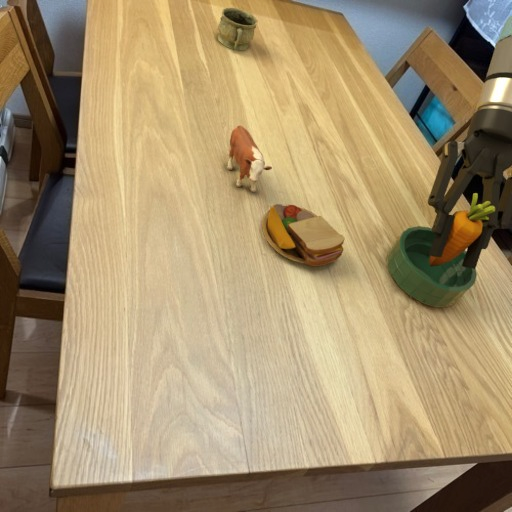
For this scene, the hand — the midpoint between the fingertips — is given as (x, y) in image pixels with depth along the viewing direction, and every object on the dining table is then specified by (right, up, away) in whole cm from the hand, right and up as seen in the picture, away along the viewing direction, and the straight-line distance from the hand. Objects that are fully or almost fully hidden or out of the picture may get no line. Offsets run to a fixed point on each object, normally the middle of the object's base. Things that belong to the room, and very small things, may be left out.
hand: (451, 261), depth 75 cm
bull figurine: (-33, +14, +11) cm, 37 cm away
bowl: (-2, -3, +8) cm, 9 cm away
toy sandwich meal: (-23, +3, +5) cm, 24 cm away
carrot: (-1, -1, +7) cm, 7 cm away
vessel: (-36, +53, +44) cm, 78 cm away
